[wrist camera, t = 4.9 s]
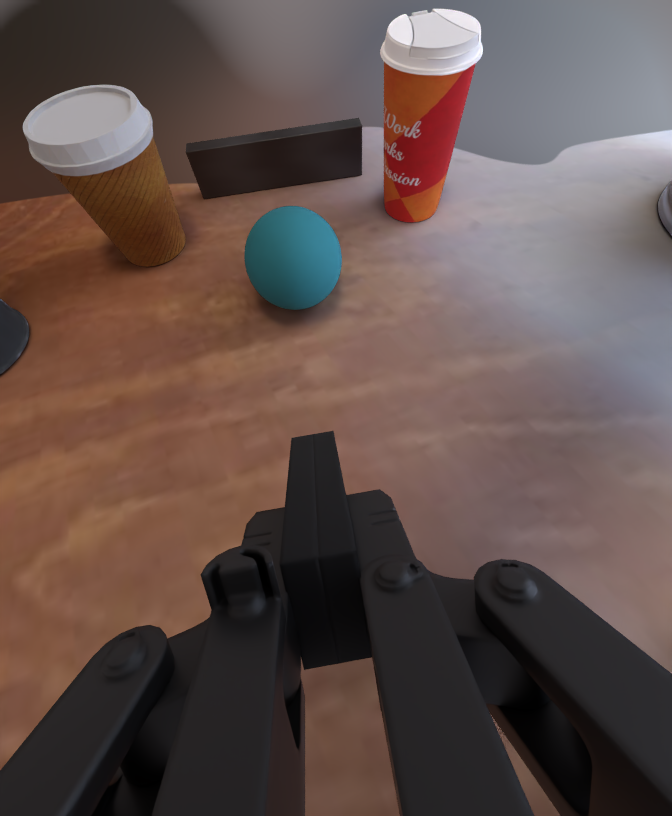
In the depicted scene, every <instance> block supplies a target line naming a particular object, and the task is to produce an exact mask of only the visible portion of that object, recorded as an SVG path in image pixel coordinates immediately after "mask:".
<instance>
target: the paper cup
mask: <svg viewBox="0 0 672 816" xmlns="http://www.w3.org/2000/svg"><path fill="white" fill-rule="evenodd" d="M409 19H410V20H409ZM480 39H481V27H480V23H479V22H478V21H477V20H476V19H475V18H474V17H472V16H470V15H468V14H466V13H463V12H459V11H454V10H448V9H433V10H432V13H427V10H426V11H420V12H414V13H412V16H410V17H408V16H407V15H406V14H404V15H401V16H400V17H397V18H396V19H394V20H393V21H392V22H391V23H390V25H389V27H388V29H387V34H386V40H385V41H384V42H383V44H382V47H381V50H380V55H381V57H382V60H383V61H384V205H385V210H386V212H387V213H388V214H389V215H390V216H391V217H393V218H394V219H397V220H399V221H403V222H419V221H423V220H426V219H428V218H429V217H431V216H432V215H433V214H434V213H435V211H436V209H437V207H438V203H439V200H440V197H441V193H442V189H443V186H444V182H445V178H446V175H447V171H448V167H449V163H450V159H451V156H452V152H453V148H454V144H455V140H456V136H457V133H458V129H459V125H460V121H461V117H462V113H463V110H464V106H465V102H466V98H467V94H468V90H469V87H470V83H471V79H472V75H473V72H474V68H475V64H476V62H477V61H478V60H479V59H480V58H481V56H482V53H483V47H482V43H481V41H480Z"/></svg>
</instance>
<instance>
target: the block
mask: <svg viewBox="0 0 672 816" xmlns="http://www.w3.org/2000/svg"><path fill="white" fill-rule="evenodd" d="M186 154H187V156H188V159H189V162H190V164H191V167H192V169H193V172H194V175H195V177H196V180H197V183H198V185H199V188H200V190H201V193H202V196H203V198H204V199H207V198H214V197H220V196H227V195H233V194H240V193H246V192H253V191H259V190H266V189H273V188H279V187H286V186H292V185H299V184H305V183H312V182H318V181H325V180H331V179H338V178H344V177H351V176H357V175H362V125H361V122H360V119H359V118H356V119H349V120H342V121H335V122H329V123H322V124H315V125H309V126H302V127H295V128H288V129H282V130H275V131H268V132H262V133H256V134H248V135H242V136H235V137H228V138H221V139H215V140H209V141H201V142H195V143H188V144H186Z"/></svg>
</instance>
